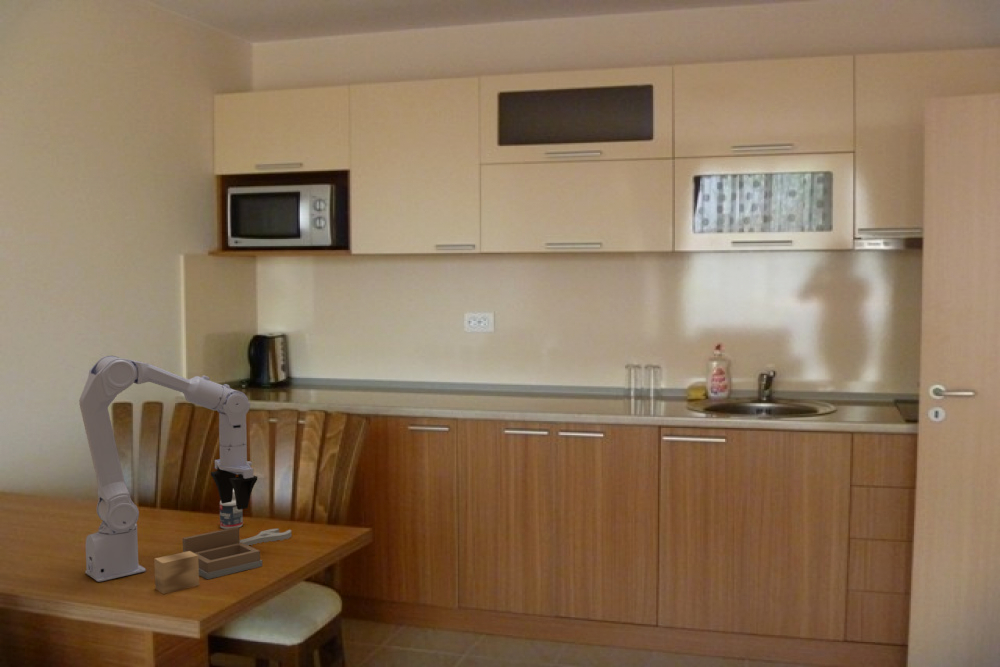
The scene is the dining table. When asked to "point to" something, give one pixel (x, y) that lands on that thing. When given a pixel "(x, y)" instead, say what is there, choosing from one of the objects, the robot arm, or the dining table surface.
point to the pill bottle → (230, 514)
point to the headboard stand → (222, 553)
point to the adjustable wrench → (267, 537)
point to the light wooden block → (176, 572)
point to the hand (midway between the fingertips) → (234, 505)
